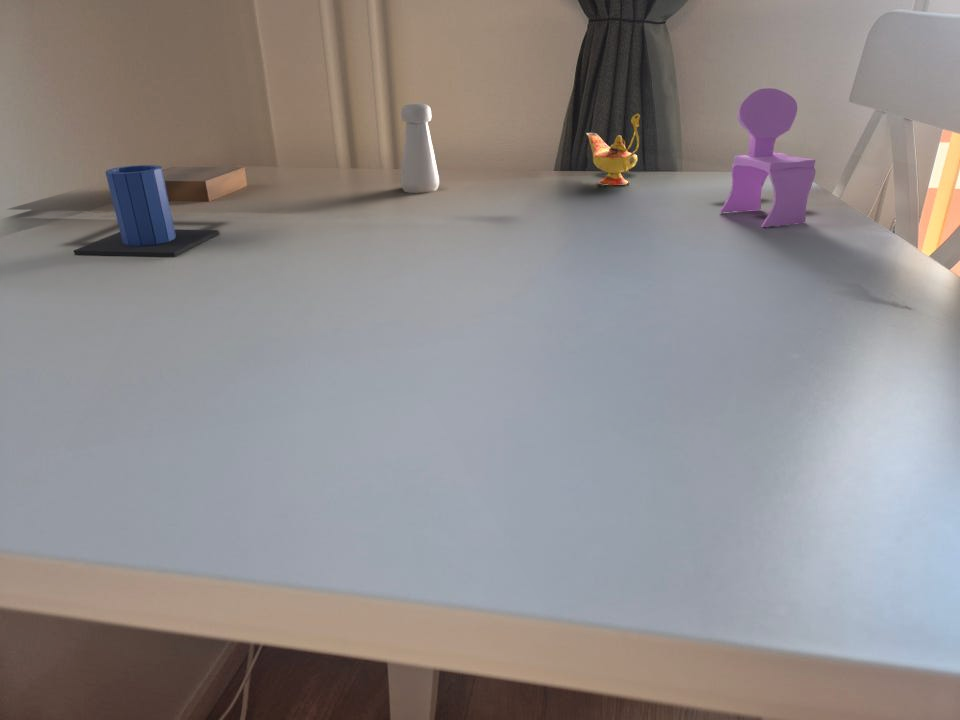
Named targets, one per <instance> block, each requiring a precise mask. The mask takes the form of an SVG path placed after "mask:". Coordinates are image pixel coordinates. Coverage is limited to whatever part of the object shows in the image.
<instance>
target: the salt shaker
mask: <svg viewBox="0 0 960 720" xmlns="http://www.w3.org/2000/svg"><path fill="white" fill-rule="evenodd" d="M400 115H401V120H402V122H403V123H405V131H404V139H403V141H404V143H403V150H402V160H401V168H400V169H401V170H400V180H399V182H400V186H401V188H402V190H403V191H404V192H406V193H412V194H423V193H431V192H435V191H437V190H438V189H439V186H440V176H439V172H438V171H439V170H438V167H437V162H436V156H435V152H434V147H433V143H432V138H431V133H430V127H429V122H431V121H432V110H431V107H430V106H429V105H428V104H425V103H408V104H405V105H403V106H402V108H401V112H400Z"/></svg>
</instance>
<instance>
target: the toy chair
mask: <svg viewBox="0 0 960 720" xmlns="http://www.w3.org/2000/svg"><path fill="white" fill-rule="evenodd" d="M797 112H798V103H797V101H796V99H795V98H794V97H793V96H792V95H790V94H789V93H787V92H785V91H783V90H781V89H777V88H772V87H771V88H769V87H767V88H766V87H765V88H760V89H757V90H754V91H752V92H751V93H749V95H747V96H746V98H744V100H743V101H742V102H741V104H740V106H739V108H738V111H737V120H738V122H739V124H740V126H742V128H743V129H744V130H746V132H747V133H748V135H749V144H748V155H747V154H746V155H745V154H743V155H734V161H733V164H732V165H731V168H730V169H731V170H730V173H731V187H730V192H729V194H728V197H727V198H726V200H725V202H724V204H723V206H722V207H721V209H720V210H719V212H720V213H723V212H733V211H745V212H748V211H747V210H755V211H758V210H757V209H762V191H763V186H764V184H765V182H766V179H767V178H768V176H769V179H770V182H771V186H772V189H773V194H774V196H773V197H774V199H773V203H772V207H771V209H770V210H769V213H768V214H767V216H766V218H765V220H764V221H763V222H762V224H761V226H760V228H762V227H766V228H770V227H769V226H775V227H778V226H777V225H784V226H788V225H787V224H792V225H796V224H795V223H801V224H805V223H806V217H807V215H806V214H807V202H808V198H809V194H810V191H811V188H812V185H813V183H814V180H815V177H816V168H815V164H816V159H814V158H809V157H798V156H793V155H789V154H786V153H781V152H774V149H775V143H776V140H777V139H778V138H779V137H781V136H782V135H784V134H785V133H787V132H788V131H790V130H791V128H792V125H793V124H794V121H795V119H796V116H797V114H798V113H797ZM720 213H719V214H720ZM804 222H805V223H804Z"/></svg>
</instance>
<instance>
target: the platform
mask: <svg viewBox="0 0 960 720" xmlns="http://www.w3.org/2000/svg"><path fill="white" fill-rule="evenodd" d="M245 169H246V168H245V167H244V166H170V167H167V168H164V169H162V172H163V177H164V181H165V186H166V191H167V196H168V200H169V202H199V203H201V202H202V203H203V202H204V203H205V202H206V203H210V202H212V201H215V200H217V199H219V198H221V197H224V196H226V195H228V194H232V193H234V192H236V191H238V190H241V189H243V188H246V187H247V186H248V183H247V176H246V170H245Z"/></svg>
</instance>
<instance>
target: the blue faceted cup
mask: <svg viewBox="0 0 960 720" xmlns="http://www.w3.org/2000/svg"><path fill="white" fill-rule="evenodd" d="M162 170H163V167H162V166H161V165H156V164H139V165H127V166H118V167H113V168H109V169H107V170H106V171H105V176H106V180H107V185H108V188H109V193H110V197H111V201H112V205H113V208H114V213H115V217H116V221H117V225H118V229H119V232H120V234H121V238H122V242H123V244H125V245H129V246H148V245H156V244H161V243H165V242H169V241H171V240H173V239H175V238H176V234H175V224H174V220H173V215H172V210H171V205H170V201H169V200H168V196H167V191H166V186H165V181H164V177H163V172H162Z"/></svg>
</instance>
